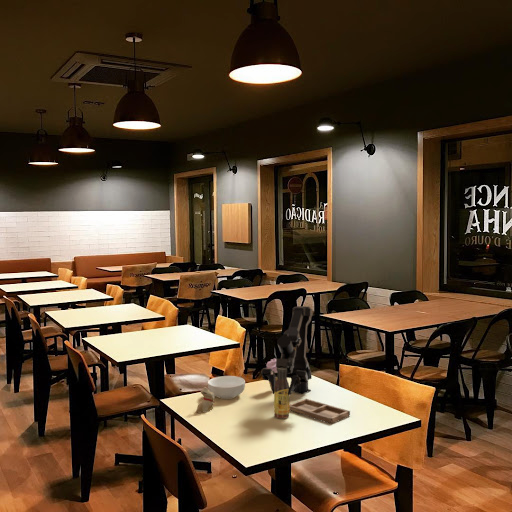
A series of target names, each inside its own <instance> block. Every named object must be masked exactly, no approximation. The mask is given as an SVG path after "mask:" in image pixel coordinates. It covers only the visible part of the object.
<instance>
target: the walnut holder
mask: <svg viewBox="0 0 512 512" xmlns="http://www.w3.org/2000/svg"><path fill="white" fill-rule="evenodd" d="M289 412H291V413H295V414H298V415H302V416H304V417H308V418H311V419H314V418H315V420H317V419H318V420H317V421H320V420H322V421H321V422H323V421H325V422H324V423H327V422H328V423H327V424H330V423H331V424H330V425H332V424H335V423H336V421H337V422H339V421H342V420H344V419H346V418H348V417H347V416H349V415H350V416H351V410H348V409H343V408H342V407H341V408H340V407H337V406H334V405H329V404H326V403H323V402H319V401H316V400H312V399H310V398H304V399H301V400H299V401H297V402H293V403H291V404H289ZM350 416H349V417H350ZM345 417H346V418H345ZM343 418H344V419H343ZM341 419H342V420H341ZM338 420H339V421H338ZM334 422H335V423H334Z"/></svg>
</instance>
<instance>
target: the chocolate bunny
mask: <svg viewBox="0 0 512 512" xmlns="http://www.w3.org/2000/svg"><path fill="white" fill-rule="evenodd" d="M200 394H201V395H202V397H203V399H202V400H201V401H199V402H198V404H197V407H196V413H207V411H208V412H211V411H212V409H213V410H214V403H215V401H214V400H215V396H214V393H213V392H210V391H209V389H208V388H207V387H206V386H203V389H202V390H201V391H200ZM210 410H211V411H210Z"/></svg>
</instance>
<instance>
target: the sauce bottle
mask: <svg viewBox="0 0 512 512" xmlns="http://www.w3.org/2000/svg"><path fill="white" fill-rule="evenodd" d="M277 372H278V377H277V381H276V383H275V390H274V394H273V395H274V396H273V413H274V414H273V416H274V418H277V419H280V420H281V419H286V418H289V416H290V411H289V405H290V403H291V402H290V395H291V394H290V395H288V392H289V387H290V384H289V381H288V378H287V368H286V367H278V368H277Z"/></svg>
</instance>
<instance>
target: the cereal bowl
mask: <svg viewBox="0 0 512 512" xmlns="http://www.w3.org/2000/svg"><path fill="white" fill-rule="evenodd" d="M207 387H208V388H207V389H208V390H209V391H210V392H213V393H214V397H218V399H221V398H222V399H223V400H230V399H234V398H235V397H237V396H239V395H241V394H242V393H244V390H245V387H246V381H245V379H244V378H243V377H240V376H235V375H223V376H215V377H213V378H211V379H208V381H207Z"/></svg>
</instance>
